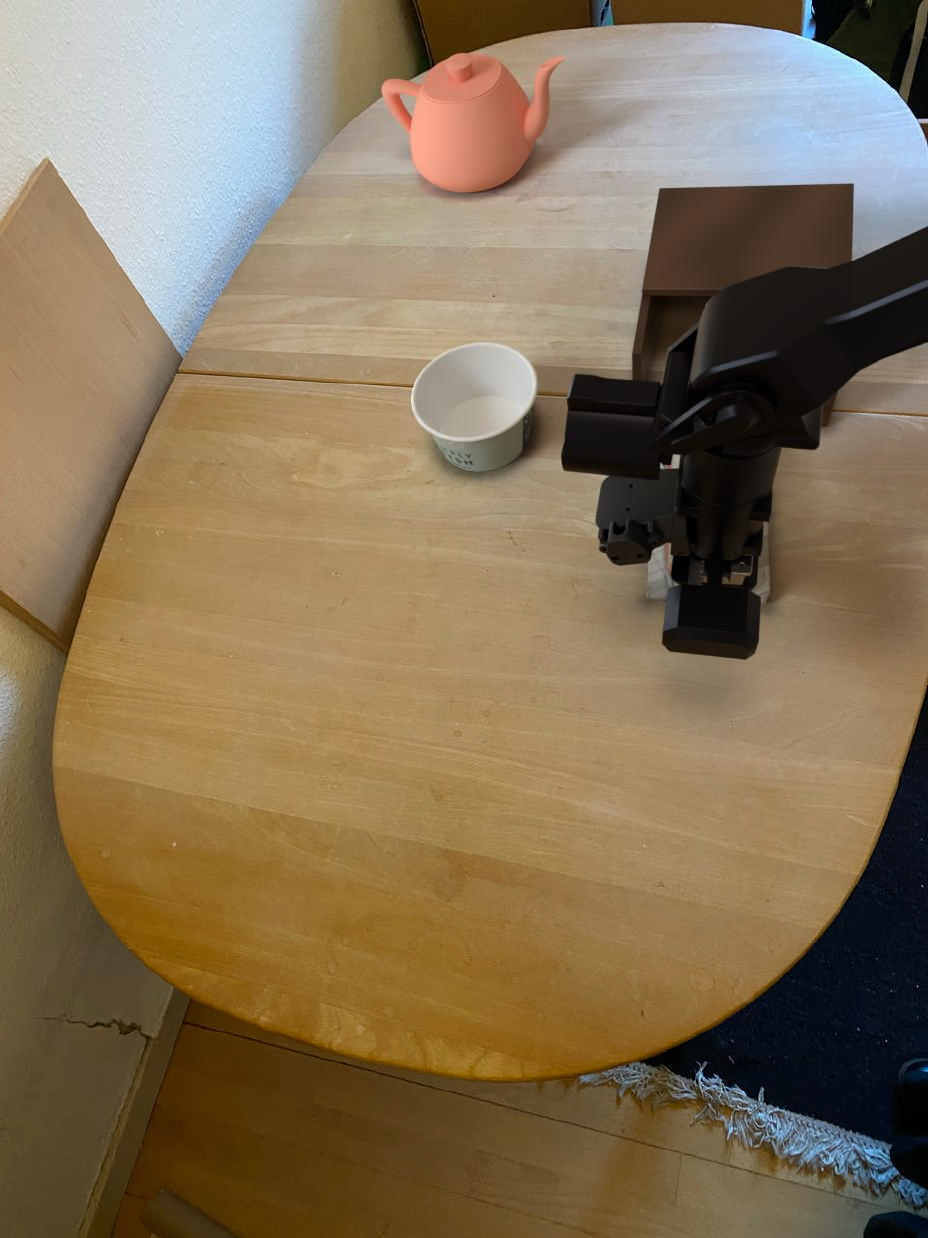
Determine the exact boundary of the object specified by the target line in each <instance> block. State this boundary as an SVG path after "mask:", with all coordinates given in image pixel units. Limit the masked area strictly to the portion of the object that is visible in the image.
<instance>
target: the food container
mask: <svg viewBox="0 0 928 1238" xmlns="http://www.w3.org/2000/svg"><path fill="white" fill-rule="evenodd" d="M538 391H539V378H538V373H537V371H536V368H535V367H534V365H533V363H532V362H531V360H530V359H529V358H528V357H527V356H526V355H525V354H524V353H522V352H521V351H520V350H518V349H516V348H514V347H512V346H511V345H506V344H503V343H499V342H492V341H491V342H490V341H478V342H477V341H476V342H470V343H466V344H462V345H457V346H455V347H453V348H450V349H448V350H446V351H444V352H442V353H441V354H439V355H437V356H436V357H434V358H433V359H432V360H431V361H430V362H429V363H428V364H427V365H426V366H425V367H424V368H423V369H422V370H421V372H420V373H419V374H418V376H417V377H416V380H415V382H414V383H413V387H412V390H411V395H410V397H411V398H410V403H411V404H410V405H411V409H412V413H413V415H414V417H415V419H416V421H417V423H419V425H420V426H421V427H422V428H423V429H424V430H425V431H426V432H428V433H429V434H430V435H431V437H432V439H433V440H434V442H435V444H436V446H437V447H438V448H439V450H440V451H441V453H442V454H443V456H444V457H445V458H446V460H447V461H448V462H450V464H452V465H453V466H455V467H456V468H459V469H462V470H464V471H468V472H479V473H480V472H490V471H494V470H497V469H499V468H503V467H505V466H506V465H508V464H510V463H512V462H513V461H515V460H516V459H517V458H518V457H519V456H520V455H521V454H522V453H523V451H524V450H525V448H526V447H527V446H528V443H529V441H530V437H531V431H532V419H533V418H532V417H533V405H534V403H535V401H536V399H537V395H538Z"/></svg>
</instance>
